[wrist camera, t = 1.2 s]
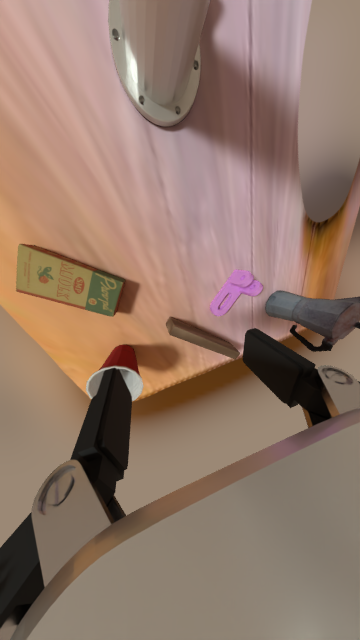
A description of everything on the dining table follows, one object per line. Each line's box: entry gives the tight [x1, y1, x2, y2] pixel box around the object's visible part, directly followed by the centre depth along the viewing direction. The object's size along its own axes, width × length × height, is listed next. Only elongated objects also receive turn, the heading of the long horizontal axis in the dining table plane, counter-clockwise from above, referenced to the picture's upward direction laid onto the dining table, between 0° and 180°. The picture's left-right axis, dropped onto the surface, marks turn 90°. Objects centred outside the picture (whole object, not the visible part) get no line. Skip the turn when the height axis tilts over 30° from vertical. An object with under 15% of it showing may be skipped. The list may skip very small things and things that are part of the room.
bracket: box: [210, 270, 263, 316], centre depth 35 cm, size 13×6×7 cm, turn 145°
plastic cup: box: [86, 345, 143, 401], centre depth 32 cm, size 11×11×12 cm
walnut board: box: [166, 317, 240, 359], centre depth 39 cm, size 2×24×6 cm, turn 59°
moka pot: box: [266, 291, 360, 352], centre depth 36 cm, size 10×15×20 cm, turn 157°
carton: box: [16, 244, 125, 317], centre depth 27 cm, size 8×16×4 cm, turn 66°
